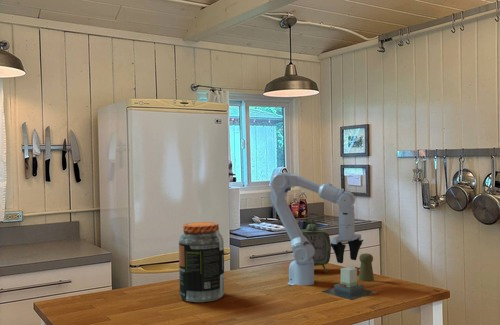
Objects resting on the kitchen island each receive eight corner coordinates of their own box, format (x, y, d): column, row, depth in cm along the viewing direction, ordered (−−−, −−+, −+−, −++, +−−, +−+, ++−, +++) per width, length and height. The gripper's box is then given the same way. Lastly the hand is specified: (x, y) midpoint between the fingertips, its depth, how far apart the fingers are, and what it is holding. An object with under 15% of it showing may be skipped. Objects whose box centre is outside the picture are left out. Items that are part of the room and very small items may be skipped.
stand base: (320, 294, 177) (320, 282, 177) (346, 287, 186) (346, 275, 186) (351, 303, 166) (351, 290, 166) (377, 295, 175) (377, 283, 175)
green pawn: (374, 284, 190) (374, 255, 189) (358, 283, 191) (358, 255, 191) (373, 280, 196) (373, 252, 195) (358, 279, 197) (358, 252, 197)
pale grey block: (340, 286, 176) (340, 268, 176) (348, 284, 179) (347, 266, 179) (349, 289, 173) (349, 270, 173) (357, 286, 175) (357, 268, 175)
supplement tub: (232, 294, 178) (232, 222, 177) (208, 306, 164) (207, 228, 164) (196, 289, 185) (195, 219, 185) (170, 300, 171) (169, 225, 171)
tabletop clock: (296, 274, 207) (295, 214, 206) (294, 269, 216) (293, 212, 216) (331, 273, 207) (330, 214, 207) (327, 268, 216) (327, 211, 216)
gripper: (342, 227, 175) (342, 265, 175) (367, 223, 184) (367, 260, 184) (327, 225, 180) (327, 262, 180) (352, 221, 189) (352, 257, 190)
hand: (346, 261), depth 183 cm, fingers open, 7 cm apart
